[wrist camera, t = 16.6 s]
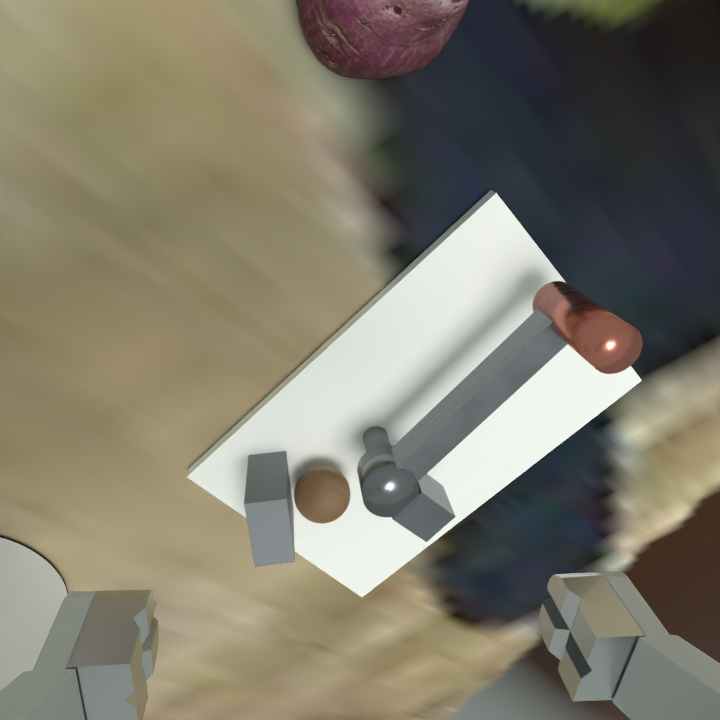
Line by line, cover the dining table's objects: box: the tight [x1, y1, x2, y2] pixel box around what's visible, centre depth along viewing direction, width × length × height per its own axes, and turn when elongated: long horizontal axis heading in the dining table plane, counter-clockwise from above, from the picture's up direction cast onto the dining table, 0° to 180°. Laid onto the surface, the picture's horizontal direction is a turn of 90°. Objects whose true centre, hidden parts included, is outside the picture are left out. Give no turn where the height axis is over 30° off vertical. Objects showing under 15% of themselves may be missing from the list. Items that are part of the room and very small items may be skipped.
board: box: [187, 190, 642, 597], centre depth 44 cm, size 32×21×7 cm, turn 132°
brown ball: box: [294, 466, 350, 524], centre depth 45 cm, size 4×4×4 cm
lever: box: [357, 281, 642, 542], centre depth 37 cm, size 20×7×8 cm, turn 137°
